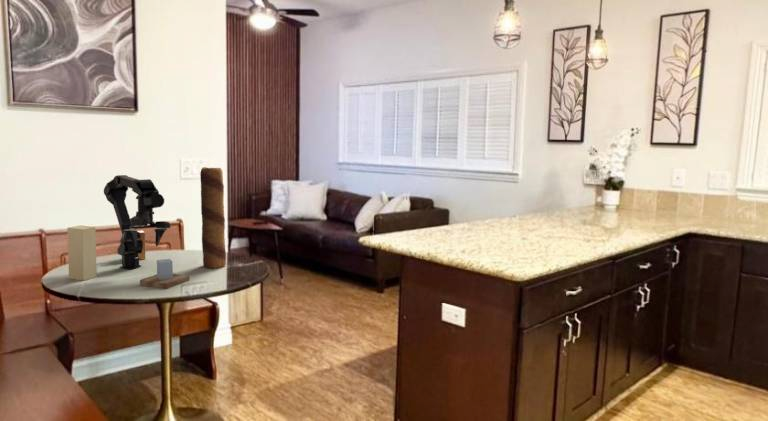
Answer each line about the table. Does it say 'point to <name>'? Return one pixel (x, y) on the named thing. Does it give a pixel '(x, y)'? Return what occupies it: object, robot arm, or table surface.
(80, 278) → the tall beige block
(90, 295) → the table surface
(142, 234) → the small box
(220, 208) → the wafer roll
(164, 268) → the blue-grey block
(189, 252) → the table surface
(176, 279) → the walnut block
